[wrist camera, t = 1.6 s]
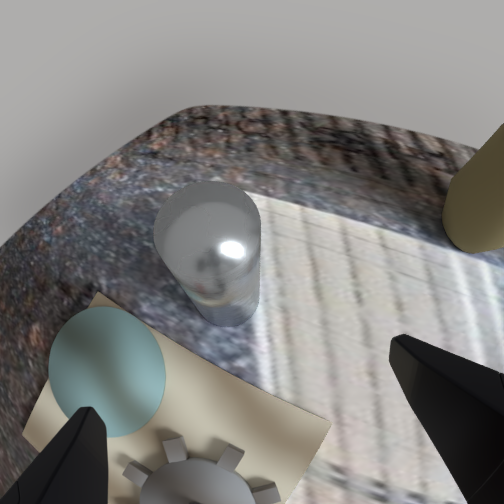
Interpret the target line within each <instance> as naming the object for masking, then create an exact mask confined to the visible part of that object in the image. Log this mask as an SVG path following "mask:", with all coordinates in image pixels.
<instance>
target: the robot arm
mask: <svg viewBox="0 0 504 504" xmlns="http://www.w3.org/2000/svg"><path fill="white" fill-rule="evenodd" d="M389 362H390V365H391V367H392V369H393V371H394V373H395V375H396V378H397V380H398V382H399V384H400V386H401V388H402V390H403V392H404V394H405V397H406V399H407V401H408V403H409V404H410V406H411V408H412V410H413V411H414V413H415V414H416V416H417V418H418V419H419V421H420V422H421V424H422V426H423V427H424V429H425V431H426V432H427V434H428V436H429V437H430V439H431V441H432V442H433V444H434V446H435V447H436V449H437V451H438V452H439V454H440V456H441V457H442V459H443V461H444V463H445V464H446V466H447V468H448V469H449V471H450V473H451V475H452V476H453V478H454V480H455V482H456V483H457V485H458V487H459V489H460V491H461V492H462V494H463V496H464V498H465V500H466V501H467V504H504V374H503V373H499V372H498V371H495V370H493V369H490V368H488V367H485V366H483V365H480V364H478V363H475V362H473V361H470V360H468V359H465V358H463V357H460V356H458V355H455V354H453V353H450V352H448V351H445V350H443V349H441V348H438V347H436V346H433V345H431V344H428V343H426V342H423V341H421V340H419V339H416V338H414V337H411V336H409V335H406V334H401V335H398V336H396V337H393V338H392V340H391V344H390V353H389ZM108 479H109V467H108V450H107V429H106V425H105V423H104V421H103V420H102V418H101V417H100V416H99V414H98V413H97V412H96V410H95V409H94V408H93V407H91V406H86V407H80V408H79V409H78V410H77V411H76V412H75V413H74V414H73V415H72V416H71V418H70V419H69V420H68V421H67V422H66V423H65V424H64V426H63V427H62V428H61V429H60V430H59V431H58V433H57V434H56V435H55V436H54V437H53V438H52V439H51V441H50V442H49V443H48V444H47V445H46V446H45V448H44V449H43V450H42V451H41V452H40V453H39V455H38V456H37V457H36V458H35V459H34V460H33V462H32V463H31V464H30V465H29V466H28V468H27V469H26V470H25V471H24V472H23V473H22V475H21V476H20V477H19V478H18V481H16V482H15V483H14V484H13V485H12V487H11V488H10V489H9V490H8V491H7V492H6V493H5V495H4V496H3V497H2V498H1V499H0V504H108Z"/></svg>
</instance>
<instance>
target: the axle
mask: <svg viewBox="0 0 504 504" xmlns="http://www.w3.org/2000/svg"><path fill="white" fill-rule="evenodd" d="M153 236H154V243H155V247H156V249H157V251H158V253H159V255H160V257H161V258H162V260H163V261H164V263H165V264H166V265H167V267H168V268H169V270H170V271H171V273H172V274H173V276H174V277H175V278H176V280H177V281H178V283H179V284H180V285H181V287H182V288H183V290H184V291H185V292H186V294H187V295H188V297H189V298H190V299H191V301H192V302H193V304H194V305H195V306H196V308H197V309H198V310H199V312H200V313H201V315H202V316H203V317H204V318H205V319H206V320H207V321H209V322H210V323H212V324H214V325H217V326H220V327H234V326H238V325H240V324H242V323H244V322H246V321H247V320H248V319H249V318H251V316H252V315H253V314H254V313H255V311H256V309H257V307H258V304H259V294H260V245H261V220H260V215H259V211H258V209H257V207H256V205H255V203H254V202H253V200H252V199H251V198H250V197H249V196H248V195H247V194H246V193H245V192H244V191H242V190H241V189H239V188H238V187H236V186H234V185H231V184H228V183H224V182H218V181H204V182H198V183H194V184H191V185H188V186H186V187H184V188H182V189H180V190H179V191H177V192H176V193H174V194H173V195H172V196H171V197H170V198H169V199H167V201H166V202H165V203H164V204H163V206H162V207H161V209H160V210H159V212H158V214H157V216H156V219H155V223H154V229H153Z"/></svg>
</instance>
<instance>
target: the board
mask: <svg viewBox="0 0 504 504" xmlns="http://www.w3.org/2000/svg"><path fill="white" fill-rule="evenodd" d="M86 406H91V407H93V408H94V409H95V410H96V412H97V413H98V414H99V416H100V417H101V418H102V420H103V421H104V423H105V425H106V429H107V450H108V467H109V479H108V504H285V502H286V501H287V499H288V498H289V496H290V495H291V493H292V492H293V490H294V489H295V487H296V486H297V484H298V482H299V481H300V479H301V478H302V476H303V474H304V473H305V471H306V469H307V468H308V466H309V464H310V463H311V461H312V459H313V458H314V456H315V454H316V452H317V451H318V449H319V447H320V445H321V444H322V442H323V440H324V438H325V436H326V435H327V433H328V431H329V429H330V427H331V425H332V422H330V421H328V420H325V419H323V418H321V417H318V416H316V415H314V414H311V413H309V412H307V411H305V410H303V409H300V408H298V407H296V406H294V405H292V404H290V403H287V402H285V401H283V400H281V399H279V398H277V397H275V396H273V395H271V394H269V393H267V392H265V391H263V390H261V389H259V388H257V387H255V386H253V385H251V384H249V383H247V382H245V381H243V380H241V379H239V378H237V377H235V376H234V375H232V374H230V373H228V372H226V371H224V370H222V369H221V368H219V367H217V366H215V365H213V364H212V363H210V362H208V361H206V360H205V359H203V358H201V357H199V356H198V355H196V354H194V353H192V352H191V351H189V350H187V349H186V348H184V347H182V346H181V345H179V344H177V343H176V342H174V341H172V340H171V339H169V338H167V337H166V336H164V335H163V334H161V333H159V332H158V331H156V330H155V329H153V328H151V327H150V326H148V325H147V324H145V323H144V322H142V321H141V320H139V319H138V318H136V317H135V316H133V315H132V314H130V313H129V312H127V311H126V310H124V309H123V308H121V307H120V306H118V305H117V304H115V303H114V302H112V301H111V300H110V299H108V298H107V297H105V296H104V295H102V294H101V293H100V292H97V293H96V295H95V297H94V298H93V300H92V301H91V303H90V305H89V306H88V308H87V309H86V310H83V311H81V312H80V313H78V314H76V315H75V316H73V317H72V318H71V319H69V320H68V321H67V322H66V323H65V324H64V326H63V327H62V328H61V329H60V331H59V332H58V334H57V336H56V338H55V340H54V342H53V345H52V348H51V352H50V356H49V378H48V380H47V382H46V384H45V386H44V388H43V390H42V392H41V394H40V396H39V398H38V400H37V402H36V404H35V407H34V409H33V411H32V413H31V415H30V417H29V420H28V422H27V424H26V426H25V429H24V431H23V433H22V435H23V436H24V437H25V438H26V439H27V440H28V441H29V442H30V443H31V444H32V445H33V446H34V447H35V448H36V449H37V450H38V451H39V452H41V451H42V450H43V449H44V448H45V446H46V445H47V444H48V443H49V442H50V441H51V439H52V438H53V437H54V436H55V435H56V434H57V433H58V431H59V430H60V429H61V428H62V427H63V426H64V424H65V423H66V422H67V421H68V420H69V419H70V418H71V416H72V415H73V414H74V413H75V412H76V411H77V410H78V409H79V408H80V407H86Z"/></svg>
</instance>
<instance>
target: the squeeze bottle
mask: <svg viewBox="0 0 504 504" xmlns="http://www.w3.org/2000/svg"><path fill="white" fill-rule="evenodd" d="M442 223H443V227H444V229H445V231H446V234H447V236H448V237H449V238H450V240H451V241H452V242H453V243H454V245H455V246H457V247H458V248H460V249H461V250H463V251H464V252H468V253H472V254H474V253H479V252H485V251H490V250H495V249H499V248H502V247H504V123H503V124H502V125H501V126H500V128H499V129H498V130H497V131H496V132H495V133H494V134H493V135H492V137H490V139H489V140H488V141H487V142H486V143H485V144H484V145H483V146H482V147H481V148H480V149H479V151H478V152H477V153H476V154H475V155H474V156H473V157H472V158H471V159H470V160H469V161H468V162H467V163H466V164H465V165H464V166H463V167H462V168H461V170H460V171H459V172H458V173H457V174H456V175H455V176H454V177H453V178H452V179H451V182H450V186H449V189H448V193H447V197H446V201H445V204H444V208H443V212H442Z"/></svg>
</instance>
